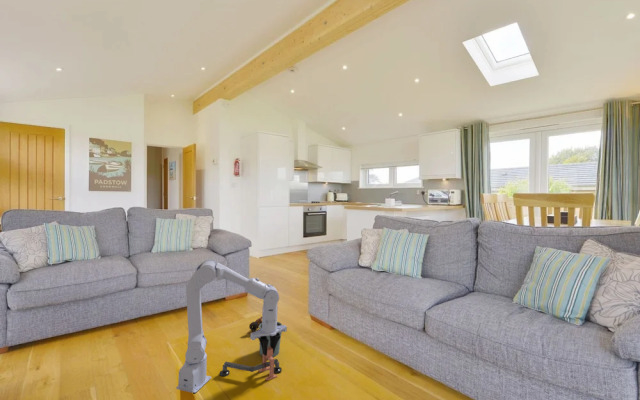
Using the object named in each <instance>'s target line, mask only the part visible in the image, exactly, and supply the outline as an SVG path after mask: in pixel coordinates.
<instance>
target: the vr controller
mask: <svg viewBox="0 0 640 400" xmlns="http://www.w3.org/2000/svg"><path fill="white" fill-rule="evenodd" d="M261 323H262V316H260V317H259V318H257V319H256V320H255V321H252V322H251V323H250V324H249V326H248V328H249V329H250V331H251V333H253V332H256V331H257V330H258V329H259V325H260V324H261Z"/></svg>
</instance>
